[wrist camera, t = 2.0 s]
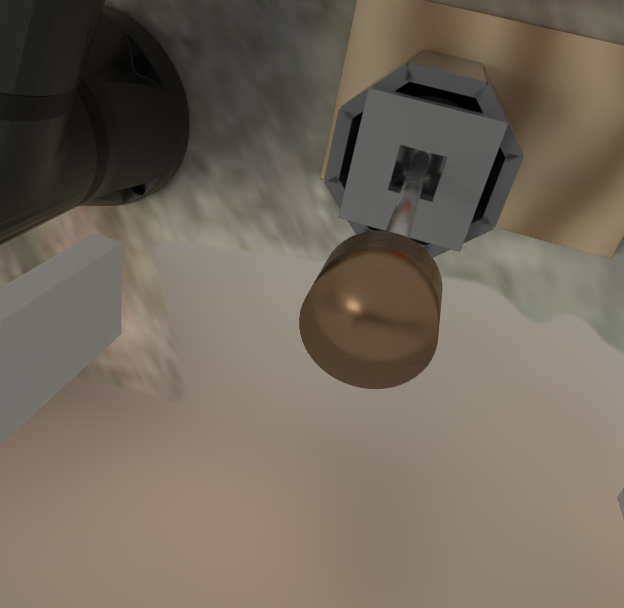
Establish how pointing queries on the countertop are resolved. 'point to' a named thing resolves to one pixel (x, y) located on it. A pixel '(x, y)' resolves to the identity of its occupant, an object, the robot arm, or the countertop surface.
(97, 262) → the robot arm
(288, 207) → the countertop surface
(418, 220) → the gray octagonal holder
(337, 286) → the plunger
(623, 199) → the board
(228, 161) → the countertop surface
